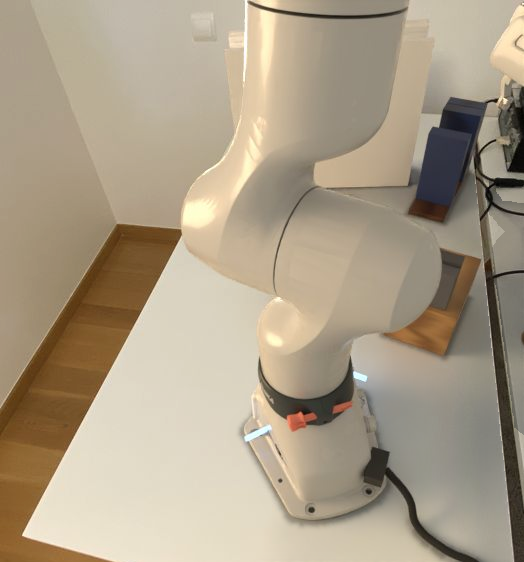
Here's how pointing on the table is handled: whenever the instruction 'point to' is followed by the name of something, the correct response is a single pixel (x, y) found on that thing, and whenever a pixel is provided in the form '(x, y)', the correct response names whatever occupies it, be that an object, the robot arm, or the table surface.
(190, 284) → the table surface
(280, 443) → the robot arm
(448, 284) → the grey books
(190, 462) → the table surface
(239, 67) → the block
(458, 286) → the oak shelf
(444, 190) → the navy book
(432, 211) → the book rack
